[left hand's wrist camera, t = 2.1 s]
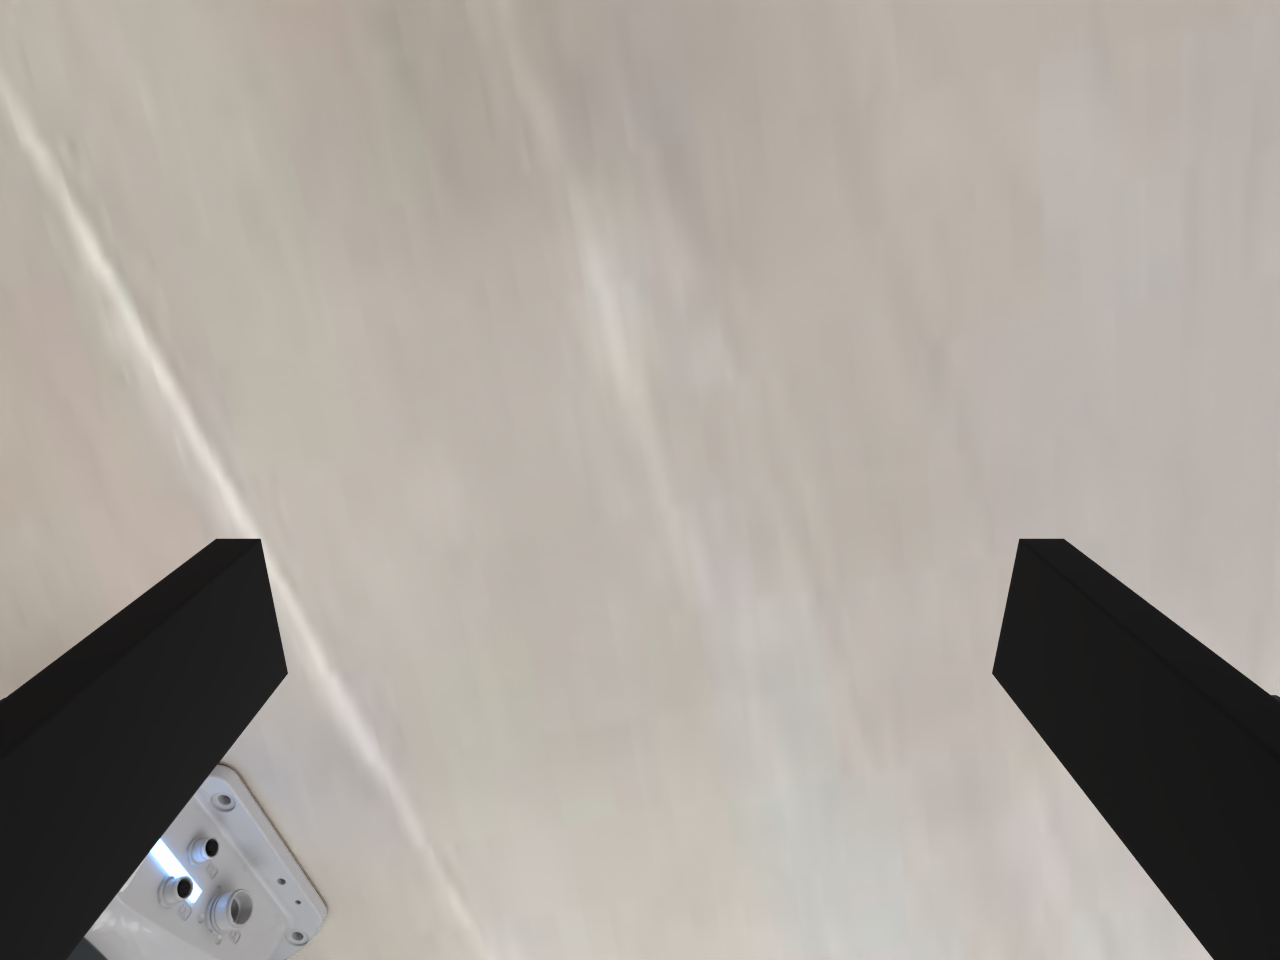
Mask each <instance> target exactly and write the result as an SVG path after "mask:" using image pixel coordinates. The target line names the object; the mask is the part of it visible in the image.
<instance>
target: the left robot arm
mask: <svg viewBox="0 0 1280 960" xmlns="http://www.w3.org/2000/svg"><path fill="white" fill-rule="evenodd" d="M287 674H288V672H287V667H286V662H285V657H284V652H283V647H282V642H281V637H280V632H279V627H278V622H277V617H276V612H275V608H274V603H273V598H272V593H271V588H270V583H269V578H268V573H267V568H266V563H265V558H264V553H263V548H262V543H261V539H215V540H214V541H213V542H211V543H210V544H209V545H207V546H206V547H205V548H203V549H202V550H201V551H200V552H198V553H197V554H196V555H194V556H193V557H192V558H190V559H189V560H188V561H186V562H185V563H184V564H182V565H181V566H180V567H178V568H177V569H176V570H174V571H173V572H172V573H170V574H169V575H168V576H166V577H165V578H164V579H162V580H161V581H160V582H158V583H157V584H156V585H155V586H153V587H152V588H151V589H149V590H148V591H147V592H145V593H144V594H143V595H141V596H140V597H139V598H137V599H136V600H135V601H133V602H132V603H131V604H129V605H128V606H127V607H125V608H124V609H123V610H121V611H120V612H119V613H117V614H116V615H115V616H114V617H112V618H111V619H110V620H108V621H107V622H106V623H104V624H103V625H102V626H100V627H99V628H98V629H96V630H95V631H94V632H92V633H91V634H90V635H88V636H87V637H86V638H84V639H83V640H82V641H80V642H79V643H78V644H76V645H75V646H74V647H72V648H71V649H70V650H69V651H67V652H66V653H65V654H63V655H62V656H61V657H59V658H58V659H57V660H55V661H54V662H53V663H51V664H50V665H49V666H47V667H46V668H45V669H43V670H42V671H41V672H39V673H38V674H37V675H35V676H34V677H33V678H31V679H30V680H29V681H27V682H26V683H25V684H24V685H22V686H21V687H20V688H18V689H17V690H16V691H14V692H13V693H12V694H10V695H9V696H8V697H6V698H4V699H2V700H0V960H66V959H67V958H68V957H69V955H70V954H71V953H72V952H73V950H74V949H75V948H76V946H77V945H78V944H79V943H80V941H81V940H82V939H83V937H84V936H85V935H86V934H87V932H88V931H89V930H90V928H91V927H92V926H93V924H94V923H95V922H96V921H97V919H98V918H99V917H100V915H101V914H102V913H103V912H104V910H105V909H106V908H107V906H108V905H109V904H110V903H111V901H112V900H113V899H114V897H115V896H116V895H117V893H118V892H119V891H120V890H121V888H122V887H123V886H124V884H125V883H126V882H127V881H128V879H129V878H130V877H131V875H132V874H133V873H134V872H135V870H136V869H137V868H138V866H139V865H140V864H141V862H142V861H143V860H144V859H145V857H146V856H147V855H148V853H149V852H150V851H151V850H152V848H153V847H154V846H155V844H156V843H157V842H158V841H159V839H160V838H161V837H162V835H163V834H164V833H165V831H166V830H167V829H168V828H169V826H170V825H171V824H172V822H173V821H174V820H175V819H176V817H177V816H178V815H179V813H180V812H181V811H182V810H183V808H184V807H185V806H186V804H187V803H188V802H189V800H190V799H191V798H192V797H193V795H194V794H195V793H196V791H197V790H198V789H199V788H200V786H201V785H202V784H203V782H204V781H205V780H206V779H207V777H208V776H209V775H210V773H211V772H212V771H213V769H214V768H215V767H216V766H217V764H218V763H219V762H220V760H221V759H222V758H223V757H224V755H225V754H226V753H227V751H228V750H229V749H230V748H231V746H232V745H233V744H234V742H235V741H236V740H237V738H238V737H239V736H240V735H241V733H242V732H243V731H244V729H245V728H246V727H247V726H248V724H249V723H250V722H251V720H252V719H253V718H254V717H255V715H256V714H257V713H258V711H259V710H260V709H261V707H262V706H263V705H264V704H265V702H266V701H267V700H268V698H269V697H270V696H271V695H272V693H273V692H274V691H275V689H276V688H277V687H278V686H279V684H280V683H281V682H282V680H283V679H284V678H285V676H286V675H287ZM992 674H993V675H994V676H995V678H996V679H997V680H998V682H999V683H1000V684H1001V686H1002V687H1003V688H1004V689H1005V691H1006V692H1007V693H1008V695H1009V696H1010V697H1011V698H1012V700H1013V701H1014V702H1015V704H1016V705H1017V706H1018V707H1019V709H1020V710H1021V711H1022V713H1023V714H1024V715H1025V717H1026V718H1027V719H1028V720H1029V722H1030V723H1031V724H1032V726H1033V727H1034V728H1035V729H1036V731H1037V732H1038V733H1039V735H1040V736H1041V737H1042V738H1043V740H1044V741H1045V742H1046V744H1047V745H1048V746H1049V748H1050V749H1051V750H1052V751H1053V753H1054V754H1055V755H1056V757H1057V758H1058V759H1059V760H1060V762H1061V763H1062V764H1063V766H1064V767H1065V768H1066V769H1067V771H1068V772H1069V773H1070V775H1071V776H1072V777H1073V779H1074V780H1075V781H1076V782H1077V784H1078V785H1079V786H1080V788H1081V789H1082V790H1083V791H1084V793H1085V794H1086V795H1087V797H1088V798H1089V799H1090V800H1091V802H1092V803H1093V804H1094V806H1095V807H1096V808H1097V810H1098V811H1099V812H1100V813H1101V815H1102V816H1103V817H1104V819H1105V820H1106V821H1107V822H1108V824H1109V825H1110V826H1111V828H1112V829H1113V830H1114V831H1115V833H1116V834H1117V835H1118V837H1119V838H1120V839H1121V841H1122V842H1123V843H1124V844H1125V846H1126V847H1127V848H1128V850H1129V851H1130V852H1131V853H1132V855H1133V856H1134V857H1135V859H1136V860H1137V861H1138V862H1139V864H1140V865H1141V866H1142V868H1143V869H1144V870H1145V872H1146V873H1147V874H1148V875H1149V877H1150V878H1151V879H1152V881H1153V882H1154V883H1155V884H1156V886H1157V887H1158V888H1159V890H1160V891H1161V892H1162V893H1163V895H1164V896H1165V897H1166V899H1167V900H1168V901H1169V903H1170V904H1171V905H1172V906H1173V908H1174V909H1175V910H1176V912H1177V913H1178V914H1179V915H1180V917H1181V918H1182V919H1183V921H1184V922H1185V923H1186V924H1187V926H1188V927H1189V928H1190V930H1191V931H1192V932H1193V934H1194V935H1195V936H1196V937H1197V939H1198V940H1199V941H1200V943H1201V944H1202V945H1203V946H1204V948H1205V949H1206V950H1207V952H1208V953H1209V954H1210V955H1211V957H1212V958H1213V959H1214V960H1280V697H1278V696H1277V695H1270V694H1268V693H1267V692H1266V691H1264V690H1263V689H1262V688H1260V687H1259V686H1258V685H1256V684H1255V683H1254V682H1252V681H1251V680H1250V679H1249V678H1247V677H1246V676H1245V675H1243V674H1242V673H1241V672H1239V671H1238V670H1237V669H1235V668H1234V667H1233V666H1231V665H1230V664H1229V663H1227V662H1226V661H1225V660H1223V659H1222V658H1221V657H1219V656H1218V655H1217V654H1215V653H1214V652H1213V651H1211V650H1210V649H1209V648H1208V647H1206V646H1205V645H1204V644H1202V643H1201V642H1200V641H1198V640H1197V639H1196V638H1194V637H1193V636H1192V635H1190V634H1189V633H1188V632H1186V631H1185V630H1184V629H1182V628H1181V627H1180V626H1178V625H1177V624H1176V623H1174V622H1173V621H1172V620H1170V619H1169V618H1168V617H1166V616H1165V615H1164V614H1163V613H1161V612H1160V611H1159V610H1157V609H1156V608H1155V607H1153V606H1152V605H1151V604H1149V603H1148V602H1147V601H1145V600H1144V599H1143V598H1141V597H1140V596H1139V595H1137V594H1136V593H1135V592H1133V591H1132V590H1131V589H1129V588H1128V587H1127V586H1125V585H1124V584H1123V583H1122V582H1120V581H1119V580H1118V579H1116V578H1115V577H1114V576H1112V575H1111V574H1110V573H1108V572H1107V571H1106V570H1104V569H1103V568H1102V567H1100V566H1099V565H1098V564H1096V563H1095V562H1094V561H1092V560H1091V559H1090V558H1088V557H1087V556H1086V555H1084V554H1083V553H1082V552H1080V551H1079V550H1078V549H1077V548H1075V547H1074V546H1073V545H1071V544H1070V543H1069V542H1067V541H1066V540H1065V539H1019V543H1018V548H1017V553H1016V558H1015V563H1014V568H1013V573H1012V578H1011V583H1010V588H1009V593H1008V598H1007V603H1006V608H1005V612H1004V617H1003V622H1002V627H1001V632H1000V637H999V642H998V647H997V652H996V657H995V662H994V667H993V672H992Z"/></svg>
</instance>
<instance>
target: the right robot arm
mask: <svg viewBox="0 0 1280 960" xmlns="http://www.w3.org/2000/svg"><path fill="white" fill-rule="evenodd" d="M327 913H328V911H327V908H326V906H325V904H324V902H323V901H322V899H321V898H320V896H319V895H318V893H317V892H316V890H315V889H314V887H313V886H312V884H311V883H310V881H309V880H308V878H307V877H306V875H305V874H304V872H303V871H302V869H301V868H300V866H299V865H298V864H297V862H296V861H295V859H294V858H293V856H292V855H291V853H290V852H289V850H288V849H287V847H286V846H285V844H284V843H283V841H282V840H281V838H280V837H279V835H278V834H277V832H276V831H275V829H274V828H273V826H272V825H271V823H270V822H269V820H268V819H267V817H266V816H265V814H264V813H263V811H262V810H261V808H260V807H259V805H258V804H257V802H256V801H255V800H254V798H253V797H252V795H251V794H250V792H249V791H248V789H247V788H246V786H245V785H244V783H243V782H242V780H241V779H240V777H239V776H238V774H237V773H236V772H235V771H234V770H232V769H231V768H229V767H226V766H223V765H218V764H217V766H216V767H215V768H214V769H213V771H212V772H211V773H210V775H209V776H208V777H207V779H206V780H205V781H204V782H203V784H202V785H201V786H200V788H199V789H198V790H197V791H196V793H195V794H194V795H193V797H192V798H191V799H190V800H189V802H188V803H187V804H186V806H185V807H184V808H183V810H182V811H181V812H180V813H179V815H178V816H177V817H176V819H175V820H174V821H173V822H172V824H171V825H170V826H169V828H168V829H167V830H166V831H165V833H164V834H163V835H162V837H161V838H160V839H159V841H158V842H157V843H156V844H155V846H154V847H153V848H152V850H151V851H150V852H149V853H148V855H147V856H146V857H145V859H144V860H143V861H142V862H141V864H140V865H139V866H138V868H137V869H136V870H135V872H134V873H133V874H132V875H131V877H130V878H129V879H128V881H127V882H126V883H125V884H124V886H123V887H122V888H121V890H120V891H119V892H118V893H117V895H116V896H115V897H114V899H113V900H112V901H111V903H110V904H109V905H108V906H107V908H106V909H105V910H104V912H103V913H102V914H101V915H100V917H99V918H98V919H97V921H96V922H95V923H94V924H93V926H92V927H91V928H90V930H89V931H88V932H87V934H86V935H85V936H84V937H83V939H82V940H81V941H80V943H79V944H78V945H77V946H76V948H75V949H74V950H73V952H72V953H71V954H70V955H69V957H68V958H67V959H66V960H286V959H288V958H289V957H291V956H292V955H294V954H296V953H297V952H298V951H300V950H301V949H302V948H304V947H305V946H306V945H307V944H308V943H309V942H310V941H311V940H312V939H313V938H314V936H315V935H316V934H317V932H318V930H319V929H320V927H321V925H322V923H323V922H324V920H325V918H326V916H327Z"/></svg>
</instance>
